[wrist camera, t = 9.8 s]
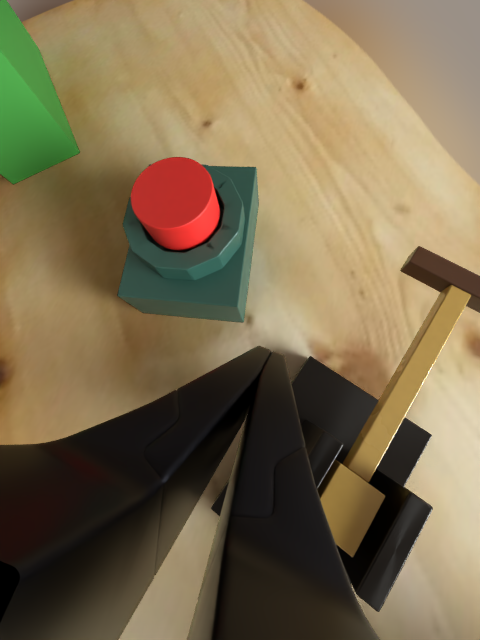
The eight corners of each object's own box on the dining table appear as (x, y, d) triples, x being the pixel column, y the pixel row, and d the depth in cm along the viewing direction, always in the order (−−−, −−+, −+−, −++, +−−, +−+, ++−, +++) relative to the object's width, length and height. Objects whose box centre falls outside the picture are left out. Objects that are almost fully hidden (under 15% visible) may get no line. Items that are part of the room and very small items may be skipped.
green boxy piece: (243, 323, 23) (234, 297, 17) (142, 313, 24) (101, 286, 18) (258, 203, 26) (255, 146, 20) (167, 199, 27) (138, 144, 21)
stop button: (214, 253, 19) (205, 231, 16) (140, 248, 19) (121, 226, 17) (225, 187, 20) (218, 157, 17) (155, 184, 20) (139, 155, 18)
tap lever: (404, 260, 18) (424, 239, 16) (503, 311, 17) (542, 296, 14) (268, 478, 15) (269, 491, 13) (374, 562, 14) (397, 593, 11)
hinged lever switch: (308, 358, 22) (329, 334, 14) (423, 433, 20) (526, 457, 12) (214, 502, 20) (175, 572, 12) (330, 602, 18) (377, 768, 10)
